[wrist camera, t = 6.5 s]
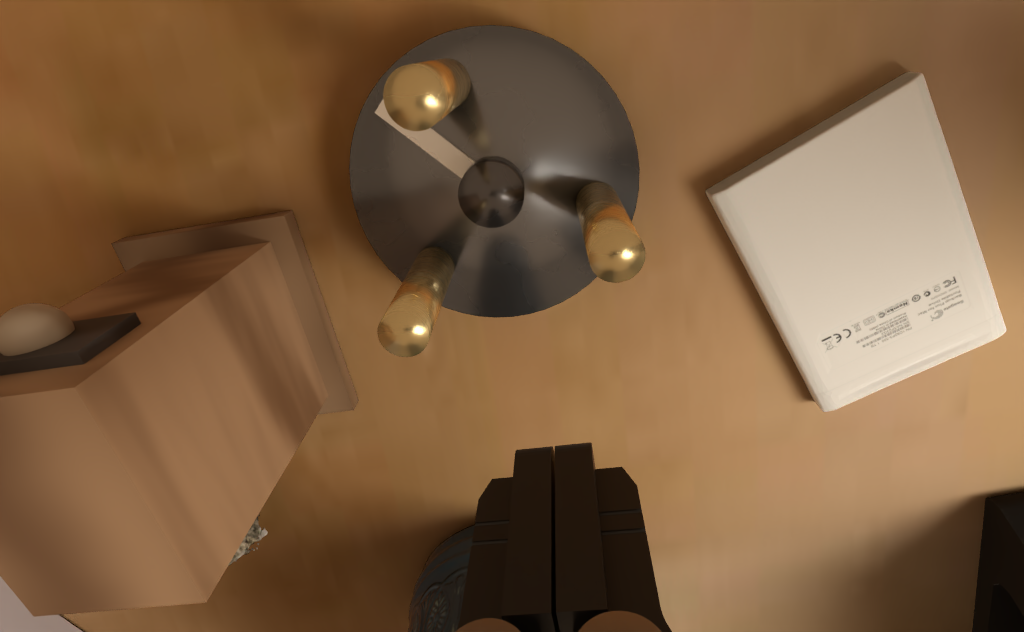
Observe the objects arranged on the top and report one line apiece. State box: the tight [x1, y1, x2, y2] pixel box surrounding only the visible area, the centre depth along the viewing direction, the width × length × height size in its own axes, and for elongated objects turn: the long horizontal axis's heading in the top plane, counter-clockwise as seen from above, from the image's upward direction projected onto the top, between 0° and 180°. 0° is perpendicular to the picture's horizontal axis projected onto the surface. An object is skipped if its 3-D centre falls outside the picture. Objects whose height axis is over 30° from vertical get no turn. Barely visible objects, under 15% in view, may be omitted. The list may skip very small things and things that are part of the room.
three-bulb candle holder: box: [349, 25, 645, 357], centre depth 19 cm, size 11×11×8 cm
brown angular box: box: [0, 210, 358, 617], centre depth 21 cm, size 8×10×12 cm
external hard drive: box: [705, 72, 1006, 412], centre depth 24 cm, size 2×8×12 cm
